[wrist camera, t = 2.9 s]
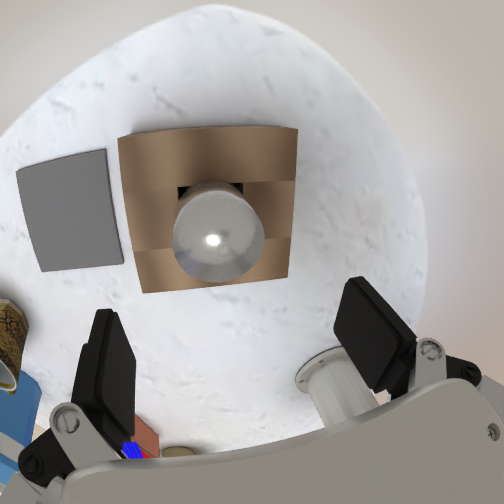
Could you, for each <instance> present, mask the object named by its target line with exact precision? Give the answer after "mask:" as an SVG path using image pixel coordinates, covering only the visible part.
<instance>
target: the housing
mask: <svg viewBox="0 0 504 504" xmlns="http://www.w3.org/2000/svg"><path fill="white" fill-rule="evenodd" d="M297 135H298V129H294V128H287V127H280V126H212V127H194V128H181V129H170V130H160V131H151V132H143V133H136V134H130V135H127V136H123V137H120V138H118V151H119V162H120V172H121V181H122V189H123V196H124V203H125V210H126V216H127V222H128V228H129V233H130V238H131V244H132V249H133V253H134V258H135V263H136V267H137V272H138V276H139V280H140V284H141V288H142V292H143V293H154V292H165V291H176V290H186V289H195V288H205V287H214V286H223V285H232V284H240V283H249V282H257V281H265V280H273V279H281V278H287V277H288V267H289V256H290V244H291V232H292V219H293V206H294V191H295V175H296V157H297ZM206 180H220V181H224V182H227V183H233V186H234V187H236V188H237V189H238V190H239V191H240V192H241V193H242V195H243V196H244V197H245V199H246V200H247V202H248V203H249V205H250V206H251V207H252V209H253V210H254V212H255V213H256V215H257V216H258V217H259V219H260V221H261V223H262V226H263V229H264V237H265V240H264V247H263V250H262V253H261V255H260V257H259V259H258V261H257V262H256V263H255V265H254V266H253V267H252V268H251V269H250V270H249V271H247V272H246V273H245V274H243V275H241V276H240V277H238V278H235V279H233V280H229V281H225V282H206V281H202V280H199V279H197V278H194V277H193V276H191V275H189V274H188V273H187V272H186V271H184V269H183V268H182V267H181V266H180V265H179V263H178V262H177V260H176V258H175V255H174V252H173V244H172V241H173V229H174V218H175V209H176V205H177V203H178V201H179V199H180V187H184V186H193V185H195V184H197V183H199V182H202V181H206Z"/></svg>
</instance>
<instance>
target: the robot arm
mask: <svg viewBox="0 0 504 504" xmlns="http://www.w3.org/2000/svg"><path fill="white" fill-rule="evenodd" d="M334 333H335V335H336V337H337V338H338V340H339V341H340V343H341V345H342V346H343V347H339V348H335V349H331V350H329V351H326V352H324V353H322V354H320V355H318V356H316V357H315V358H313V359H312V360H310V361H309V362H308V363H307V364H306V365H305V366H303V368H302V369H301V370H300V371H299V373H298V374H297V377H296V385H297V388H298V389H299V390H300V391H301V392H304V393H310V395H311V398H312V400H313V402H314V404H315V406H316V409H317V411H318V413H319V415H320V417H321V419H322V422H323V424H324V426H325V428H322V429H319V430H316V431H312V432H309V433H306V434H303V435H299V436H296V437H292V438H288V439H284V440H280V441H276V442H272V443H268V444H263V445H259V446H254V447H249V448H243V449H238V450H232V451H226V452H219V453H211V454H202V455H192V456H181V457H166V458H139V459H129V458H128V457H127V456H126V455H125V454H124V452H123V451H122V449H123V443H131V436H134V435H135V378H136V359H135V356H134V353H133V351H132V349H131V346H130V344H129V342H128V339H127V337H126V334H125V332H124V329H123V327H122V324H121V321H120V319H119V316H118V314H117V312H113V310H112V309H98V310H97V311H96V314H95V318H94V321H93V325H92V329H91V332H90V336H89V340H88V343H85V344H84V345H83V347H82V350H81V354H80V358H79V363H78V367H77V372H76V376H75V381H74V386H73V392H72V398H71V403H69V402H66V403H61V404H59V405H57V406H56V407H55V408H54V409H53V411H52V412H51V415H50V419H49V421H50V428H49V429H48V430H47V431H45V432H44V433H43V434H42V435H40V436H39V437H38V438H37V439H36V440H34V441H33V442H32V443H30V444H29V445H28V446H27V447H25V448H24V449H23V450H22V451H21V452H20V454H19V456H18V468H19V471H18V472H16V471H14V473H13V475H12V476H11V478H10V480H9V482H8V484H7V485H6V487H5V489H4V491H3V493H2V495H1V496H0V504H504V386H503V385H501V384H499V383H498V382H496V381H494V380H492V379H491V378H489V377H487V376H486V375H483V376H482V375H481V372H480V370H479V368H478V367H477V366H476V365H475V364H474V363H472V362H469V361H465V360H462V359H458V358H455V357H451V356H448V355H445V350H444V348H443V346H442V345H441V344H440V343H439V342H438V341H436V340H434V339H432V338H423V339H421V340H420V341H419V342H418V343H417V341H416V338H417V337H416V335H415V334H414V333H413V332H412V330H411V329H410V328H409V327H408V326H407V325H406V323H405V322H404V321H403V320H402V319H401V318H400V317H399V315H398V314H397V313H396V312H395V311H394V310H393V309H392V308H391V306H390V305H389V304H388V303H387V302H386V301H385V300H384V299H383V298H382V296H381V295H380V294H379V293H378V292H377V291H376V290H375V289H374V288H373V287H372V286H371V285H370V283H369V282H368V281H367V280H366V279H365V278H364V277H363V276H359V277H353V278H350V279H349V280H348V282H346V283H345V286H344V290H343V294H342V298H341V302H340V306H339V309H338V313H337V316H336V320H335V323H334ZM370 389H372V390H373V392H374V393H375V394H377V393H379V392H381V391H383V390H385V389H386V390H387V391H388V395H387V401H386V403H385V404H383V405H381V406H380V405H379V404H378V402H377V400H376V399H375V397H374V395H373V394H372V392H371V390H370Z"/></svg>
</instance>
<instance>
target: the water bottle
mask: <svg viewBox="0 0 504 504" xmlns="http://www.w3.org/2000/svg"><path fill="white" fill-rule="evenodd" d="M41 394H42V392H41V390H40V387H39V385H38V383H37V382H36V381H35V380H33V379H32V378H31V377H30V376H28V375H27V374H26V373H25V372H24V371H21V370H20V375H19V380H18V386H17V390H16V393H15V394H14V395H10V394H8V393H7V392H6V391H5V390H2V389H0V492H1V493H3V491H4V489H5V487H6V485H7V484H8V482H9V480H10V478H11V476H12V475H13V473H14V471H16V472H18V471H19V468H18V456H19V454H20V452H21V451H22V450H23V449H24V448H25V447H27V446H28V445H29V444H30V443H31V440H32V435H33V429H34V424H35V419H36V414H37V410H38V406H39V402H40V398H41Z"/></svg>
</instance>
